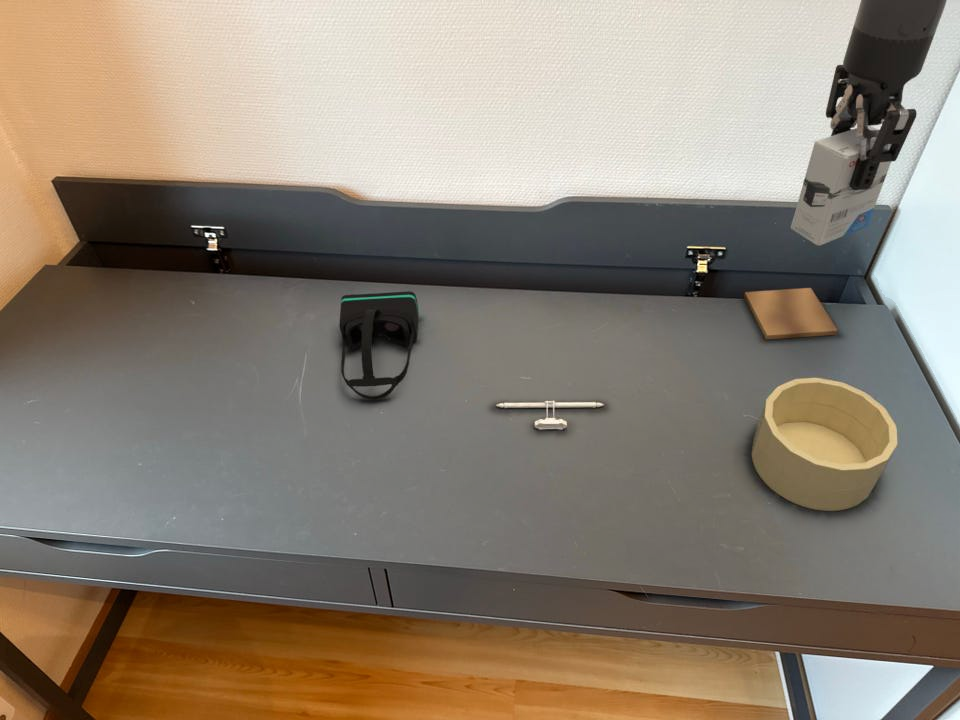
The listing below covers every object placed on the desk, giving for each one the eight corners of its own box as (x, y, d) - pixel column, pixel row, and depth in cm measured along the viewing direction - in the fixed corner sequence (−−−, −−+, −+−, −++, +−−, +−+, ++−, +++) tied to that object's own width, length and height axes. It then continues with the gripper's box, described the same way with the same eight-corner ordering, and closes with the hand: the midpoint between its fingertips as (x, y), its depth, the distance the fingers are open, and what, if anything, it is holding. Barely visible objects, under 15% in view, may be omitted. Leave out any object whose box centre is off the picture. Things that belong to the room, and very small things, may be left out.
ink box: (838, 209, 91) (867, 121, 83) (869, 227, 87) (903, 137, 79) (787, 228, 88) (812, 139, 80) (817, 247, 85) (846, 157, 77)
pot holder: (809, 291, 107) (810, 287, 106) (836, 334, 100) (838, 330, 99) (743, 296, 107) (744, 292, 106) (765, 339, 100) (767, 335, 99)
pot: (844, 416, 88) (863, 374, 83) (895, 507, 79) (921, 465, 73) (736, 424, 89) (749, 381, 83) (774, 514, 79) (790, 473, 74)
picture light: (603, 404, 92) (604, 393, 91) (606, 429, 89) (607, 418, 88) (496, 405, 93) (495, 394, 92) (495, 430, 90) (495, 419, 88)
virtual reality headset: (419, 317, 107) (411, 268, 99) (417, 407, 96) (408, 360, 88) (347, 321, 107) (333, 273, 99) (336, 411, 96) (320, 365, 88)
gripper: (972, 45, 66) (908, 203, 77) (898, -1, 76) (851, 143, 88) (892, 51, 66) (839, 208, 77) (829, 4, 77) (791, 148, 88)
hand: (846, 173), depth 83 cm, fingers closed on ink box, 6 cm apart
